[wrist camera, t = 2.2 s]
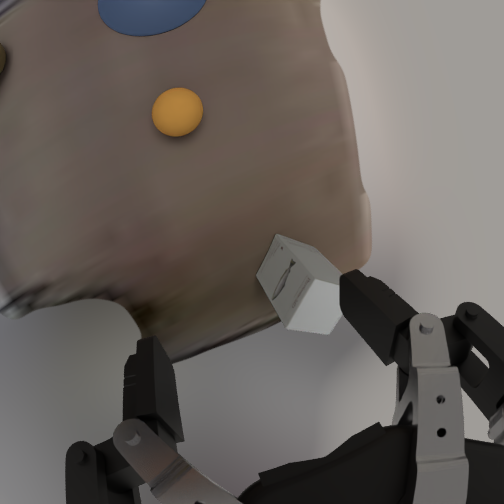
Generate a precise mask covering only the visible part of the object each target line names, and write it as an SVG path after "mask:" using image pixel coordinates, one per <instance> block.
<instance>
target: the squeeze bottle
mask: <svg viewBox="0 0 504 504" xmlns="http://www.w3.org/2000/svg"><path fill="white" fill-rule="evenodd" d="M5 62H6V53H5V50H4V48H3V47H2V45H1V43H0V73H1V72H2V70H3V68H4V65H5Z"/></svg>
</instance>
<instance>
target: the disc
mask: <svg viewBox="0 0 504 504" xmlns="http://www.w3.org/2000/svg"><path fill="white" fill-rule="evenodd" d="M205 1H206V0H98V10H99V14H100V16H101V18H102V20H103V21H104V22H105V24H106V25H107V26H109V27H110V28H111V29H113V30H115V31H117V32H119V33H122V34H126V35H132V36H148V35H155V34H160V33H163V32H167V31H170V30H172V29H175V28H177V27H179V26H181V25H182V24H184V23H186V22H187V21H189V20H190V19H191V18H192V17H194V16H195V15H196V14H197V13H198V12H199V10H200V9H201V8H202V6H203V5H204V3H205Z"/></svg>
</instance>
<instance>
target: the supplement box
mask: <svg viewBox="0 0 504 504" xmlns="http://www.w3.org/2000/svg"><path fill="white" fill-rule="evenodd" d="M341 275H342V273H341V272H340V271H339V270H338V269H337V268H336V267H335V266H334V265H333V264H332V263H331V262H329V261H328V260H327V259H326V258H325V257H324V256H323V255H322V254H321V253H320V252H319V251H318V250H317V249H316V248H315V247H313V246H310V245H308V244H305V243H302V242H299V241H296V240H294V239H291V238H288V237H285V236H282V235H279V234H276V235H275V237H274V239H273V242H272V244H271V246H270V248H269V251H268V253H267V255H266V257H265V259H264V261H263V263H262V265H261V266H260V268H259V270H258V272H257V274H256V277H257V278H258V280H259V282H260V284H261V286H262V287H263V289H264V291H265V293H266V294H267V296H268V298H269V300H270V302H271V303H272V305H273V307H274V309H275V310H276V312H277V314H278V316H279V317H280V319H281V321H282V323H283V324H284V326H285V328H286V329H289V330H296V331H304V332H312V333H318V334H325V335H329V334H330V333H331V331H332V330H333V328H334V327H335V325H336V324H337V322H338V321H339V319H340V318H341V316H342V315H343V314H342V311H341V309H340V304H339V278H340V276H341Z"/></svg>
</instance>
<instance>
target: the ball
mask: <svg viewBox="0 0 504 504" xmlns="http://www.w3.org/2000/svg"><path fill="white" fill-rule="evenodd" d="M202 115H203V106H202V102H201V100H200V98H199V97H198V96H197V95H196V94H195V93H194V92H193V91H191V90H189V89H186V88H172V89H169V90H167V91H165V92H164V93H162V94H161V95H160V96H159V97H158V98H157V99H156V101H155V103H154V105H153V108H152V119H153V122H154V124H155V126H156V127H157V129H158V130H159V131H161V132H162V133H164V134H166V135H169V136H183V135H186V134H188V133H190V132H191V131H193V130H194V129H195V128H196V127H197V126H198V124H199V123H200V121H201V119H202Z"/></svg>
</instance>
